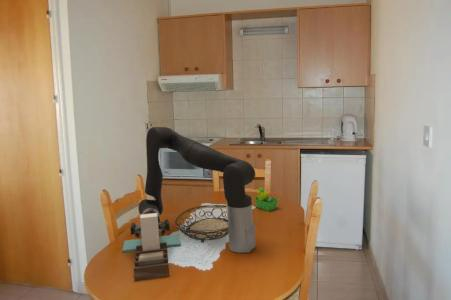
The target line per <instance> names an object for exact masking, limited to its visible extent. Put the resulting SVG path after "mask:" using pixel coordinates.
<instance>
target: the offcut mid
mask: <svg viewBox="0 0 451 300" xmlns="http://www.w3.org/2000/svg"><path fill="white" fill-rule="evenodd" d="M155 256H163V253H162V254H154V255H146V256H139V258H147V257H155Z"/></svg>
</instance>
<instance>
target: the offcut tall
mask: <svg viewBox="0 0 451 300" xmlns="http://www.w3.org/2000/svg"><path fill="white" fill-rule="evenodd" d="M138 264H139V267H141V266H149V265H156V264H164V259H163V256H155V257H147V258H139V259H138Z"/></svg>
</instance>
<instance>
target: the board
mask: <svg viewBox="0 0 451 300" xmlns="http://www.w3.org/2000/svg"><path fill="white" fill-rule="evenodd" d="M159 242H160V243H164V242H166V243H167V249H168V248H177V247H181V246H182V243H181V238H180V234H170V235H160V236H159ZM138 245H142V238H136V239H129V240H128V239H127V240H124V241H123V246H122V250H121V251H122V254H127V253H134V252H136V246H138Z"/></svg>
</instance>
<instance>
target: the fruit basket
mask: <svg viewBox="0 0 451 300" xmlns="http://www.w3.org/2000/svg"><path fill="white" fill-rule="evenodd" d="M256 192H257V194H256V195H257V196H255V197H253V199H254V203H255V205H256V208H258V209H261V210H263V211H266V212H270V211H273V210H276V209H277V205H278V202H279V199H277V198H274V197H271V196H269V193H268V191H266V190H265V189H264V187H260V188H258V189H257V191H256Z"/></svg>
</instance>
